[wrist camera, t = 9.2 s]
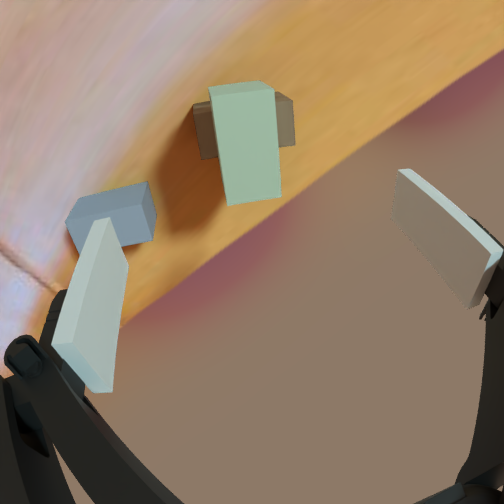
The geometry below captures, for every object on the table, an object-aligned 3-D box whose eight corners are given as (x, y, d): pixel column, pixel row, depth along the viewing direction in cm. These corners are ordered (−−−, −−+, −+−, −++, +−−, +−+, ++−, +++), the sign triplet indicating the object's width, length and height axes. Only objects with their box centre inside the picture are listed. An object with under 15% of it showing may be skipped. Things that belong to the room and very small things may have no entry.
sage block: (267, 170, 27) (281, 196, 23) (221, 178, 27) (227, 205, 23) (259, 80, 23) (273, 88, 19) (208, 87, 22) (211, 96, 18)
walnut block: (200, 142, 30) (201, 159, 26) (193, 103, 27) (193, 114, 23) (281, 130, 30) (295, 145, 26) (277, 91, 28) (292, 100, 24)
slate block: (91, 228, 33) (79, 255, 29) (79, 197, 31) (64, 222, 27) (156, 214, 34) (152, 240, 30) (147, 180, 31) (141, 204, 27)
